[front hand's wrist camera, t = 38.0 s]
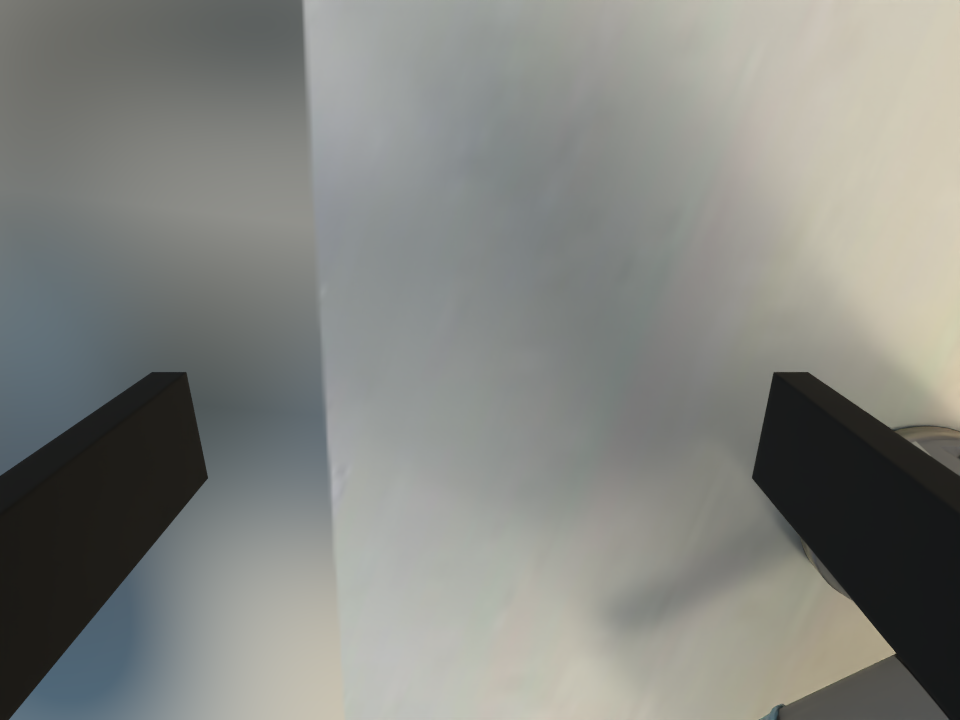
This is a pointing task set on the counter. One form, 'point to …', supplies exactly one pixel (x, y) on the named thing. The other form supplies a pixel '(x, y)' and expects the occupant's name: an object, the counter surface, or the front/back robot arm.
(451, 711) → the counter surface
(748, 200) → the counter surface
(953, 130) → the counter surface
